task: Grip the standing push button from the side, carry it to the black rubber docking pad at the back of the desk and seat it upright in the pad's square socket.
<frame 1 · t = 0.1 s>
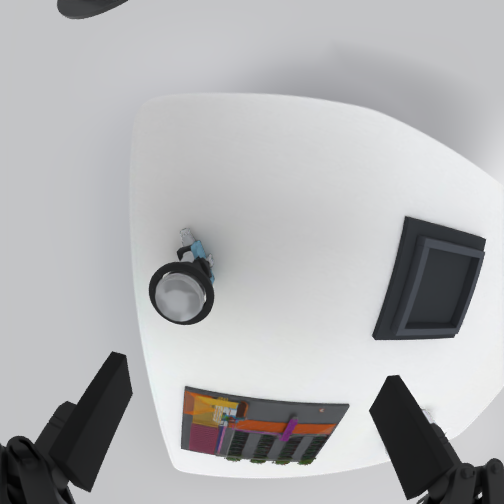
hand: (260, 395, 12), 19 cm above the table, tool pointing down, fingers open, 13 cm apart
circuit board: (258, 432, 37), on the table
docking pad: (435, 285, 30), on the table
push button: (198, 255, 29), on the table
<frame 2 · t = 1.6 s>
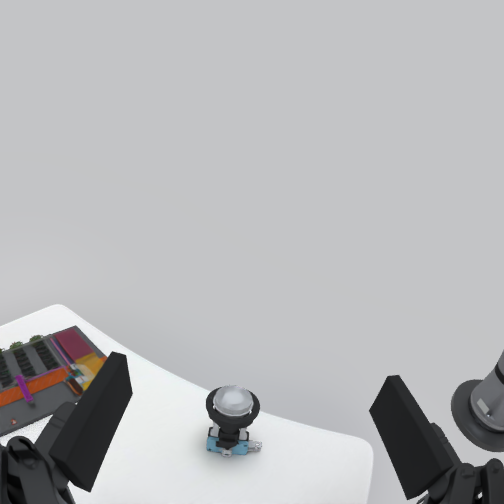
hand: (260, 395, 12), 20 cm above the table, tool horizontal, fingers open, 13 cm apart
circuit board: (39, 375, 28), on the table
push button: (232, 449, 26), on the table
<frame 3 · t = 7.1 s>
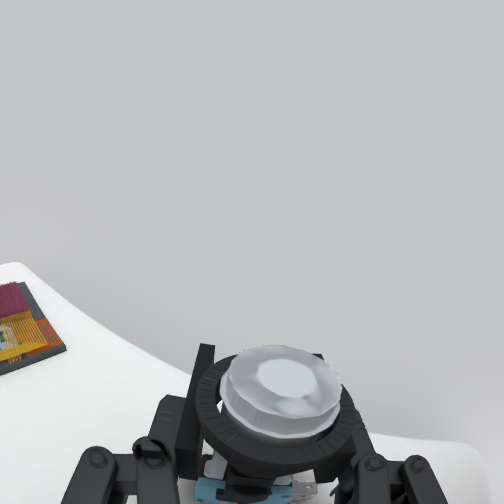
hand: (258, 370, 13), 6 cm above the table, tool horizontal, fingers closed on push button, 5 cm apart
push button: (250, 498, 10), on the table, touching gripper
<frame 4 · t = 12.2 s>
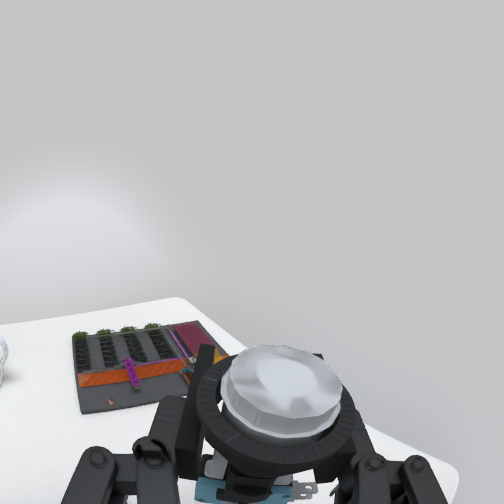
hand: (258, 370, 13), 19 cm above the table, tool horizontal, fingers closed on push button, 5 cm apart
circuit board: (150, 362, 38), on the table
push button: (250, 497, 10), point 13 cm above the table, touching gripper
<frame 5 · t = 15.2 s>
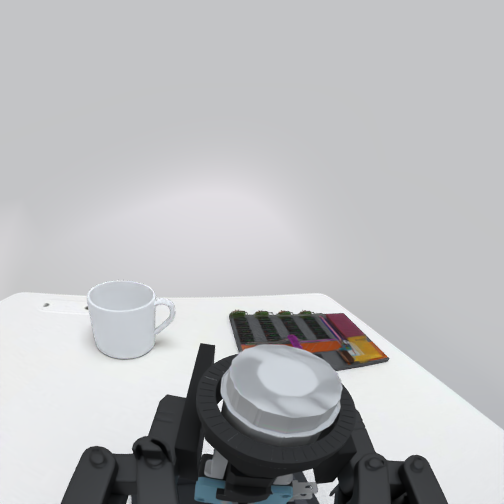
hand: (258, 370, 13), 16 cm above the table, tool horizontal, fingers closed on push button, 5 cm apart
circuit board: (306, 342, 45), on the table
mug: (133, 342, 38), on the table
push button: (250, 497, 10), point 10 cm above the table, touching gripper
when the fingers open (7 cm above the table, at t = 17.9 s): push button stays where it is, resting on docking pad.
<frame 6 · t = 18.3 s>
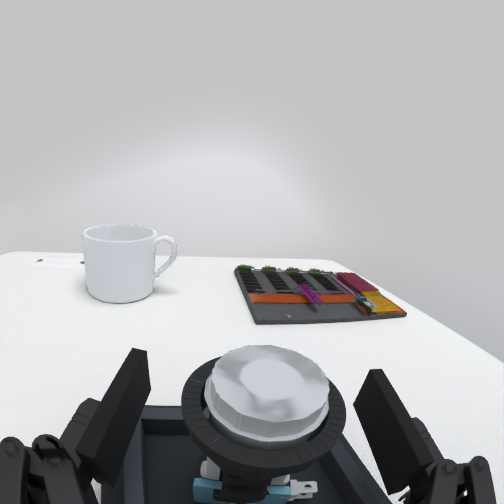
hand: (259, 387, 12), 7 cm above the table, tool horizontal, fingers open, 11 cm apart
circuit board: (318, 296, 43), on the table
docking pad: (243, 502, 10), on the table
mug: (129, 290, 35), on the table
push button: (250, 497, 10), point 1 cm above the table, touching docking pad
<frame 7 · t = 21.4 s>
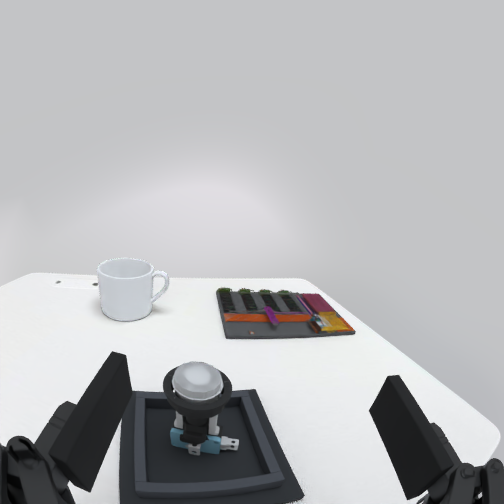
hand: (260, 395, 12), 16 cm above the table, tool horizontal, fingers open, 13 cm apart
circuit board: (282, 314, 54), on the table
docking pad: (199, 450, 21), on the table
mug: (134, 309, 46), on the table
push button: (203, 446, 21), point 1 cm above the table, touching docking pad
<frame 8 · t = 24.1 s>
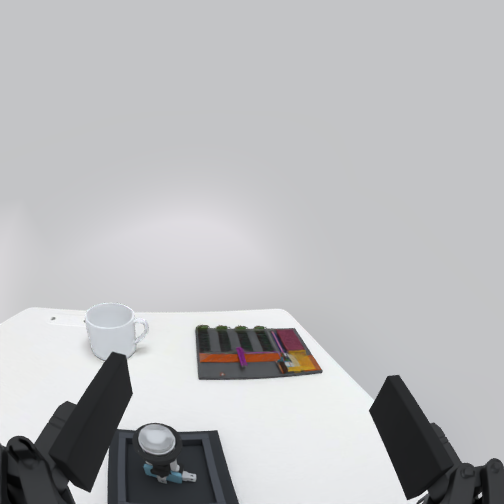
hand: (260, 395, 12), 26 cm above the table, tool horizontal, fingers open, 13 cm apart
circuit board: (254, 352, 56), on the table
docking pad: (168, 478, 24), on the table
mug: (120, 349, 49), on the table
push button: (170, 476, 24), point 1 cm above the table, touching docking pad
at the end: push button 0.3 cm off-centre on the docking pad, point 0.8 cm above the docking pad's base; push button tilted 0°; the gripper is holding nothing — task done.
